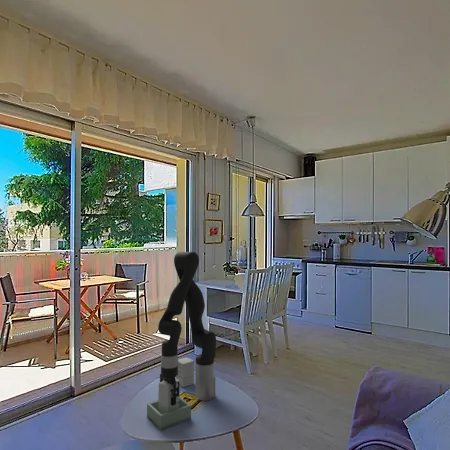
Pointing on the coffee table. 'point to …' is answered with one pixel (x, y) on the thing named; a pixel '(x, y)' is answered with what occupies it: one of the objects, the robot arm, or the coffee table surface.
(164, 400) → the skincare box
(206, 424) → the coffee table surface
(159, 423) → the box
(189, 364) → the supplement box
